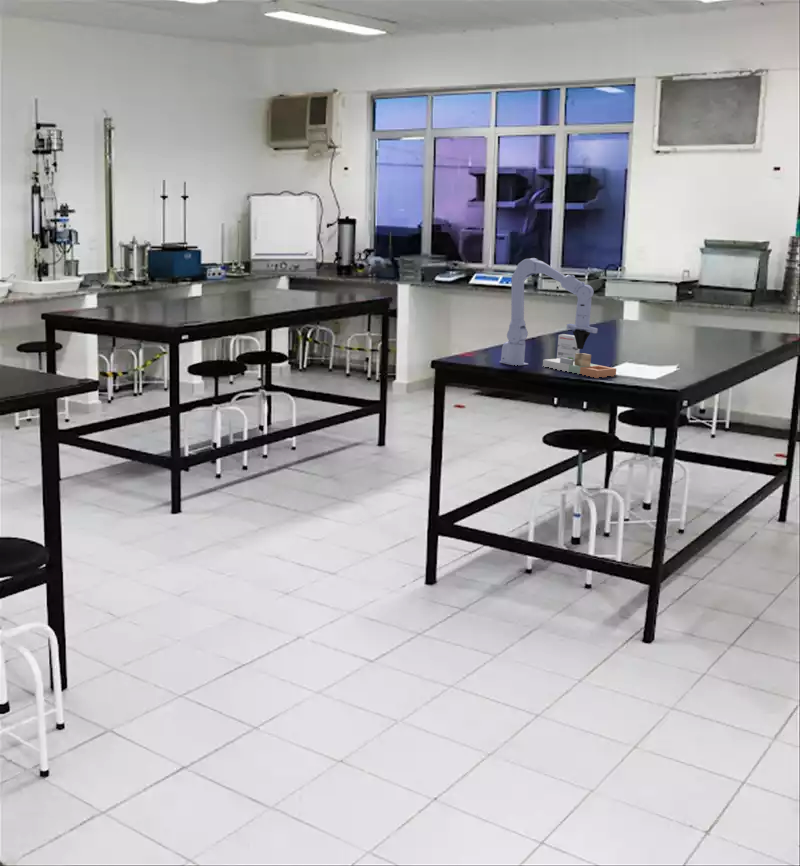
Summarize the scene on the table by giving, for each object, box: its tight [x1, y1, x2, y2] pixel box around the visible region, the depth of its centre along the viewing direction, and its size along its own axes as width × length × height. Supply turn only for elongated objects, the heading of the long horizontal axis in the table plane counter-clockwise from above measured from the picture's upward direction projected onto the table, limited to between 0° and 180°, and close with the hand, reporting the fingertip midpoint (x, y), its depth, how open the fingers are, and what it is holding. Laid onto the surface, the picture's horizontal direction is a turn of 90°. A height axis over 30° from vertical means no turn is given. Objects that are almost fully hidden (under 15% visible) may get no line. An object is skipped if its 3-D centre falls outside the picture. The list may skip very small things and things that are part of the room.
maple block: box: [574, 352, 592, 366], centre depth 412 cm, size 4×4×4 cm
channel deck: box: [542, 356, 617, 379], centre depth 416 cm, size 28×12×5 cm, turn 40°
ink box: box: [556, 333, 581, 359], centre depth 437 cm, size 9×5×12 cm, turn 53°
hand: (580, 348), depth 414 cm, fingers closed
